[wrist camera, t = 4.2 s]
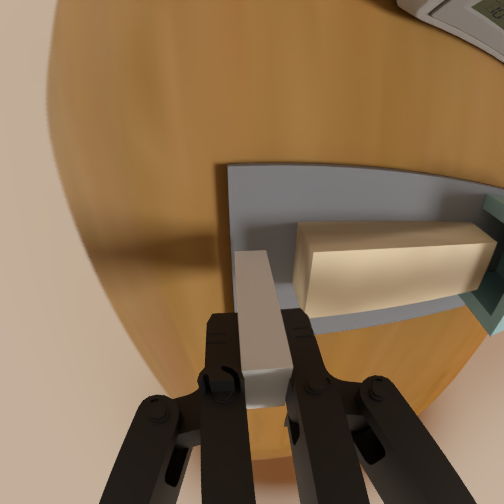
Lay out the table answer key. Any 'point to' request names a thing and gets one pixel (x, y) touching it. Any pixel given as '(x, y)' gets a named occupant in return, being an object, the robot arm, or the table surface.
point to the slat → (385, 263)
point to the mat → (346, 219)
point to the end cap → (489, 283)
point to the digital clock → (464, 20)
